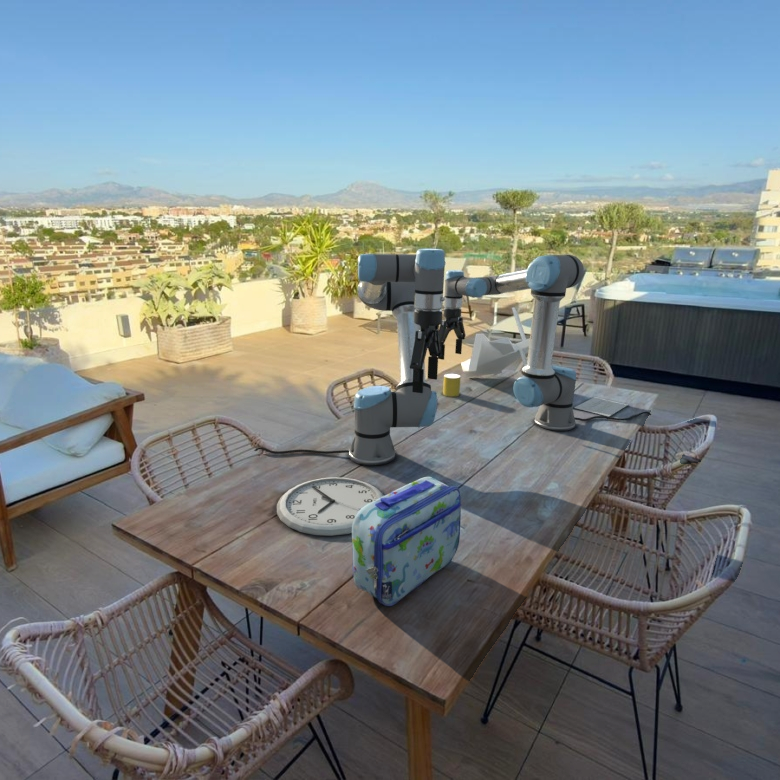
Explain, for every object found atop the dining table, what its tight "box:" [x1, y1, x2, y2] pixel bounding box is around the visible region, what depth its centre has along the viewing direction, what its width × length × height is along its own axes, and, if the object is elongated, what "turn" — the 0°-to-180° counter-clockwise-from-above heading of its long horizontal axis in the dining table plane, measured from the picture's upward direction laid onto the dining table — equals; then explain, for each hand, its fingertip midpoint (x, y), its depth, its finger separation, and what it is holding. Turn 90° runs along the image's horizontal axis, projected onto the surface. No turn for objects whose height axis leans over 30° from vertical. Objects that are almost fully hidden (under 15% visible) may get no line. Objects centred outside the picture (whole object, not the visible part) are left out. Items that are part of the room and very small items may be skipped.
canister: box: [442, 373, 461, 398], centre depth 239 cm, size 8×8×9 cm
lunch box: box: [351, 476, 462, 607], centre depth 111 cm, size 26×11×21 cm, turn 135°
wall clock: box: [276, 476, 385, 537], centre depth 142 cm, size 30×2×30 cm
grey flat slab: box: [573, 396, 629, 417], centre depth 226 cm, size 21×1×15 cm
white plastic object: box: [460, 306, 530, 378], centre depth 259 cm, size 37×45×31 cm
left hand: (425, 385), depth 145 cm, fingers open, 13 cm apart
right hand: (449, 356), depth 228 cm, fingers open, 13 cm apart
